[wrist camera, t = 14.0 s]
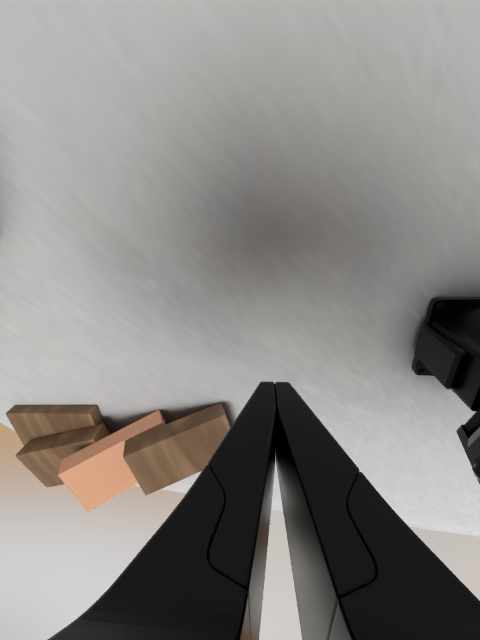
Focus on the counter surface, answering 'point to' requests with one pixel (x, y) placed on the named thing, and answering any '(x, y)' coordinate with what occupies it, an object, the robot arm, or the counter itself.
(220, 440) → the domino
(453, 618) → the robot arm
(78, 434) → the domino
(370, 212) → the counter surface
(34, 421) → the domino
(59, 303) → the counter surface
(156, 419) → the domino
